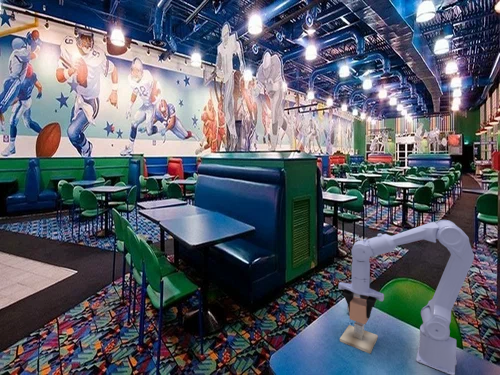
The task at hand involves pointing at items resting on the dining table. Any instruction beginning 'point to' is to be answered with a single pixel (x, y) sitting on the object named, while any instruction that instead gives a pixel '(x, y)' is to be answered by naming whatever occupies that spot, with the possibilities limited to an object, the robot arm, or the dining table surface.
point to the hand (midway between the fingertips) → (359, 313)
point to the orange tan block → (358, 310)
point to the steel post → (358, 330)
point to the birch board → (363, 344)
